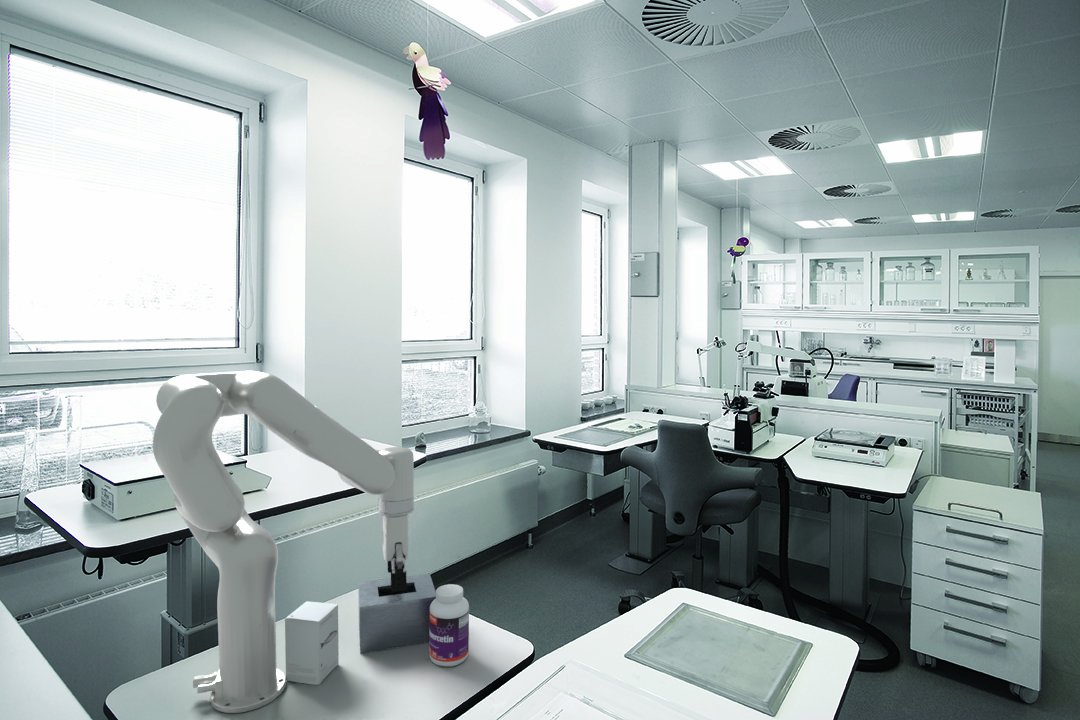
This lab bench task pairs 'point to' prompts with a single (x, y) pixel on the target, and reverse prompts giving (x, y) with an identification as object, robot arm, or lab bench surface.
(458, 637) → the pill bottle
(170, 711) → the lab bench surface
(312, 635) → the supplement box
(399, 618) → the grey slotted box
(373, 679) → the lab bench surface
